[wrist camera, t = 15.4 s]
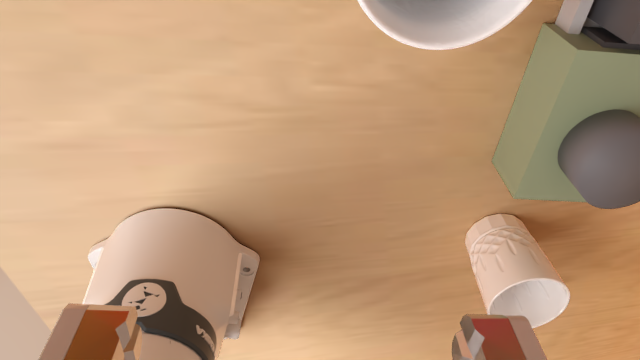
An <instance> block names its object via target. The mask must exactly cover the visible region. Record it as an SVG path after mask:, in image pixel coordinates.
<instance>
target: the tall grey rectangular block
mask: <svg viewBox="0 0 640 360" xmlns="http://www.w3.org/2000/svg"><path fill="white" fill-rule="evenodd" d="M587 17H588V18H589V19H591V20H592V21H594V22H595V23H597V24H599V25H600V26H602V27H603V28H605V29H606V30H608V31H609V32H611V33H613V34H614V35H616V36H617V37H619V38H620V39H622V40H624V41H625V42H627V43H628V44H639V45H640V0H594V1H593V4H592V6H591V8H590V11H589V13H588V15H587Z"/></svg>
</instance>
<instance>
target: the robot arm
mask: <svg viewBox="0 0 640 360" xmlns="http://www.w3.org/2000/svg"><path fill="white" fill-rule="evenodd" d="M88 260H89V262H90V263H91V265H92V267H93V269H94V272H93V274H92V277H91V280H90V283H89V286H88V288H87V291H86V294H85V297H84V300H83V303H82V304H68V305H67V306H66V307H65V308H64V309H63V310H62V312H61V314H60V316H59V318H58V320H57V322H56V324H55V326H54V328H53V330H52V332H51V335H50V337H49V339H48V341H47V343H46V345H45V347H44V349H43V351H42V353H41V355H40V357H39V359H38V360H216V359H217V358H218V356H219V353H220V349H221V346H222V342H223V339H227V338H229V339H238V338H239V334H240V328H241V321H242V318H243V315H244V311H245V308H246V305H247V302H248V298H249V295H250V292H251V289H252V285H253V282H254V279H255V276H256V272H257V269H258V266H259V261H260V257H259V255H258V254H257V253H256V252H254V251H253V250H251V249H249V248H247V247H245V246H243V245H241V244H239V243H238V242H237V241H236V240H235V239H234V238H233V237H232V236H231V235H230V234H229V233H228V232H227V231H226V230H225V229H224V228H223V227H221V226H220V225H219V224H217V223H216V222H214V221H212V220H211V219H209V218H207V217H204V216H202V215H199V214H197V213H193V212H190V211H185V210H180V209H168V208H163V209H152V210H147V211H143V212H140V213H137V214H134V215H132V216H130V217H129V218H127V219H125V220H124V221H123V222H121V223H120V224H119V225H118V227H117V228H116V229H115V230H114V232H113V233H112V235H111V236H110V237H109V238H108V239H106V240H104V241H102V242H99V243H97V244H96V245H94V246H93V247H91V249H90V251H89V254H88ZM246 267H248V268H246ZM460 324H461V328H462V330H461V331H459V332H458V333H456V334H455V336H454V339H453V342H452V357H453V360H547V358H546V356H545V354H544V352H543V350H542V348H541V346H540V344H539V341H538V339H537V337H536V335H535V333H534V331H533V329H532V327H531V325H530V323H529V321H528V319H527V318H526V317H525V316H511V315H504V316H503V315H477V314H466V315H465V316H463V318H462V320H461V322H460Z"/></svg>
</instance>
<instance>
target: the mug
mask: <svg viewBox="0 0 640 360" xmlns="http://www.w3.org/2000/svg"><path fill="white" fill-rule="evenodd" d="M358 2H359V4H360V6H361V7H362V9H363V11H364V12H365V13H366V15H367V16H368V17H369V19H370V20H371V21H372V22H373V23H374V24H375V25H376V26H377V27H378V28H379V29H381V30H382V31H383V32H384V33H386V34H387V35H389V36H390V37H392V38H394V39H395V40H397V41H399V42H401V43H404V44H407V45H410V46H413V47H417V48H421V49H428V50H447V49H455V48H460V47H464V46H467V45H471V44H474V43H476V42H479V41H481V40H483V39H485V38H487V37H489V36H491V35H493V34H494V33H496V32H497V31H499V30H501V29H502V28H504V27H505V26H506V25H508V24H509V23H510V22H511V21H513V20H514V19H515V18H516V17H517V16H518V15H519V14H521V12H522V11H523V10H524V9H525V8H526V7H527V6H528V5H529V4H530V3H531V2H532V0H358Z"/></svg>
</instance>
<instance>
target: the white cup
mask: <svg viewBox="0 0 640 360" xmlns="http://www.w3.org/2000/svg"><path fill="white" fill-rule="evenodd" d="M465 245H466V248H467V250H468V253H469V256H470V259H471V265H472V269H473V272H474V276H475V279H476V282H477V285H478V288H479V290H480V293H481V296H482V299H483V302H484V305H485V308H486V311H487V314H488V315H503V316H504V315H511V316H525V317H526V318H527V319H528V321H529V323H530V325H531V327H532V328H535V327H538V326H541V325H544V324H546V323H548V322H550V321H552V320H553V319H555V318H556V317H558V316H559V315H560V314H561V313H562V312H563V311H564V310H565V309H566V307H567V306H568V304H569V301H570V292H569V289H568V288H567V286H566V285H565V283H564V282H563V280H562V279H561V277H560V276H559V274H558V273H557V271H556V269H555V268H554V266H553V265H552V263H551V262H550V260H549V259H548V257H547V256H546V254H545V253H544V252H543V250H542V249H541V248H540V246H539V244H538V243H537V241H536V240H535V239H534V238H533V237H532V236H531V234H530V233H529V231H528V230H527V228H526V227H525V225H524V224H523V222H522V221H521V220H520V219H518V218H517V217H515V216H514V215H509V214H501V213H500V214H495V215H490V216H486V217H484V218H483V219H481V220H479V221H477V222H476V223H474V224H473V226H472V227H471V228H470V229H469V230H468V232H467V234H466V239H465Z"/></svg>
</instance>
